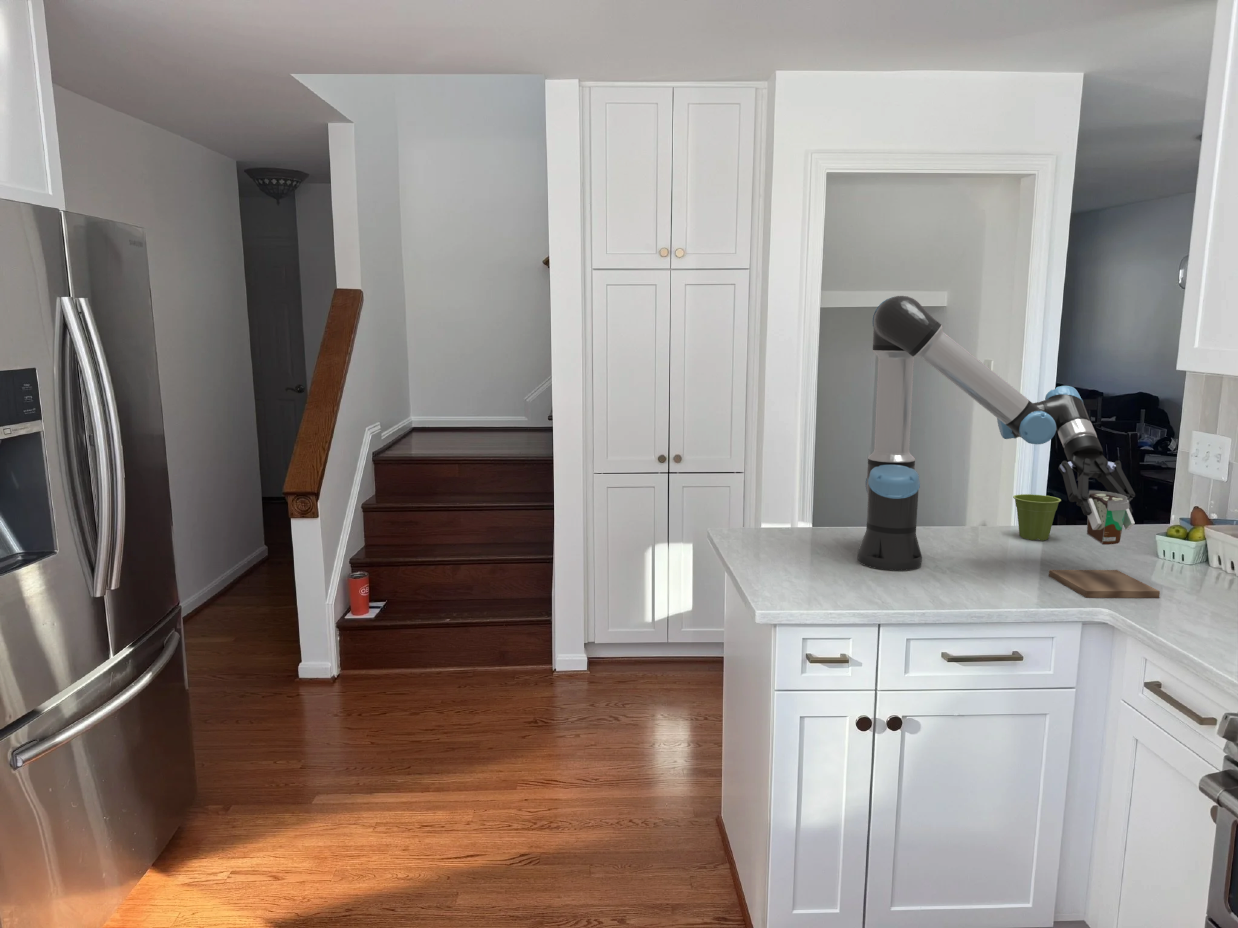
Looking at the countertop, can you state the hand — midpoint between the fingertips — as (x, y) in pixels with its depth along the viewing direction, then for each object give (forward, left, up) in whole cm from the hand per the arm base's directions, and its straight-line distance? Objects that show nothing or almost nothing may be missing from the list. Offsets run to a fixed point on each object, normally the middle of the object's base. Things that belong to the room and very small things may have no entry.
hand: (1113, 526), depth 190 cm
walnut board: (0, +2, -14) cm, 14 cm away
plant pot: (+6, +46, -15) cm, 48 cm away
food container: (0, +2, -4) cm, 4 cm away
